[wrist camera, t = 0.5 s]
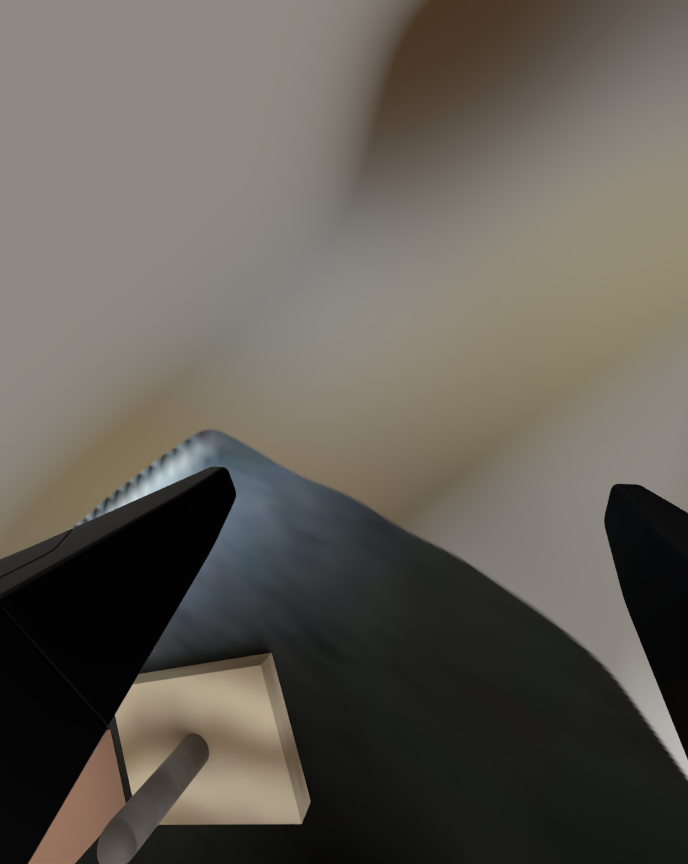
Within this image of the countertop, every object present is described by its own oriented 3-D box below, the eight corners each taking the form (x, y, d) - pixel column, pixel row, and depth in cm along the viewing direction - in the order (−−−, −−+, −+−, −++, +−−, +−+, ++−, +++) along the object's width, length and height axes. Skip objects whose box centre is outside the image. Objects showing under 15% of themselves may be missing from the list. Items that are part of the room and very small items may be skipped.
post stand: (310, 801, 25) (237, 983, 16) (154, 805, 28) (31, 954, 20) (271, 652, 26) (184, 753, 17) (126, 675, 30) (-2, 767, 21)
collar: (126, 805, 29) (37, 904, 23) (74, 807, 31) (-21, 899, 25) (110, 729, 30) (19, 805, 24) (60, 734, 32) (-37, 807, 25)
